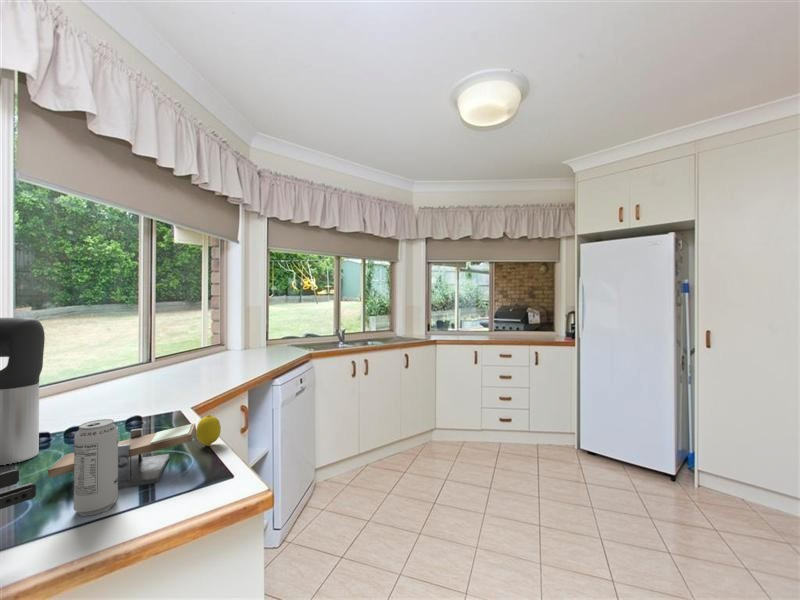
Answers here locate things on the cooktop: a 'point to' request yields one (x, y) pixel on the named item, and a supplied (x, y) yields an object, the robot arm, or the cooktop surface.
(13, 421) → the robot arm
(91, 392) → the cooktop surface
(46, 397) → the cooktop surface
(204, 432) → the lemon
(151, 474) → the beam stand
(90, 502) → the energy drink can
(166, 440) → the beam
